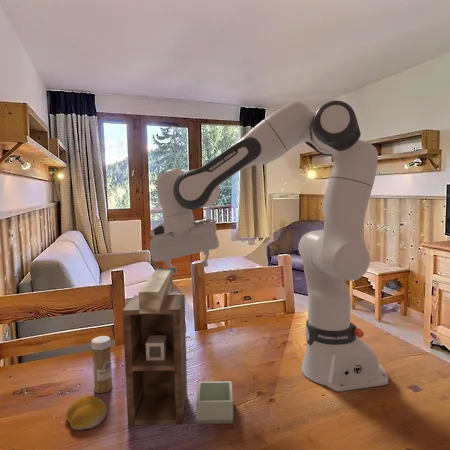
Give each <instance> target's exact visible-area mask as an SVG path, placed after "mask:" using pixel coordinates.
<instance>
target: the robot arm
mask: <svg viewBox="0 0 450 450" xmlns="http://www.w3.org/2000/svg"><path fill="white" fill-rule="evenodd" d="M361 136H362V135H361V131H360V126H359V122H358V119H357V115H356V112H355V111H354V109H353V107H352V106H351V105H349V104H348V103H346V102H345V101H342V100H332V101H328V102H326V103H324V104H322V105H321V106H320V107H319V108H317V110H316V112H313V111H311V109H310V108H309V107H308V105H306V104H305V103H302V102H301V101H292V102H289V103H288V104H286V105H284V106H282V107H280V108H278V109H277V110H275V111H274V112H272V113H271V114H269V115H268V116H266V117H265V118H264V119H262V120H261V121H260V122H259V123H257V124H256V125H255V126H254V127H253V128H251V130H250V131H248V132H247V133H246V134H245V135H244V136H242V138H240V139H239V140H238V141H237V142H236V143H234V144H233V145H232V146H230V147H229V148H227V149H226V150H224V151H223V152H222V153H220V154H219V155H217V156H216V157H214V158H213V159H211V161H209V162H208V163H206V164H205V165H203V166H200V167H199V168H194V169H191V170H187V171H184V170H183V169H181V168H173V169H172V168H171V169H168V170H166V171H164V172H161V174H159V175H158V177H157V179H156V189H157V196H158V200H159V205H160V207H161V208H162V219H163V222H162V223H160V224H158V225H157V226H155V227H154V228H152V229H150V231H149V233H150V236H151V237H152V238H151V239H150V242H149V245H150V246H149V248H150V250H149V251H150V255H151V260H152V261H153V262H155V263H158V262H163V261H164V262H165V265H166V266H167V268H172V275H174V274H178V270H177V269H178V268H177V266H174V265H172V264H171V262H172V259H176V258H179V257H185V256H189V255H194V254H198V253H203V254H204V256H205V258H204V260H201V263H202V268H206V267H209V263H208V259H209V255H210V251H212V250H216V249H218V248H219V246H220V241H219V238H218V235H217V233H216V232H217V228H218V227H217V223H216V221H215V220H214V219H210V218H205V219H201V220H200V219H199V220H196V221H195V217H194V213H193V210H197V209H201V208H202V209H203V208H208V207H211V206H213V205H215V203H217V202H218V200H219V198H220V195H221V186H220V185H221V184H222V183H224V182H226V181H228V179H230V178H231V177H233V176H234V175H236V174H238V173H239V172H240V171H242V170H244V169H247V168H249V167H254V166H261V165H268V164H269V163H272V162H274V161H275V160H278V159H279V158H281V157H282V156H284V155H285V154H286V153H287V152H289V151H291V150H292V149H294V148H295V147H296V146H298V145H299V144H302V143H305V144H306V145H307V146H308V147H310V148H312V149H313V150H314V151H315V152H316V153H318V154H319V155H322V156H326V157H329V156H330V157H332V159H333V160H332V161H333V163H332V164H333V165H332V169H331V173H330V175H329V179H328V182H327V187H326V189H325V193H324V197H323V200H322V204H321V210H322V213H323V220H324V221H323V222H324V223H323V229H318V230H311V231H308V232H306V233H305V234H303V235H302V236H301V237H300V240H299V241H298V247H297V248H298V253H299V255H300V257H301V261H302V265H303V271H304V276H305V282H306V289H307V319H306V322H305V324H306V326H305V341H306V346H305V352H304V357H303V359H302V364H301V367H300V369H301V370H300V371H301V373H302V374H303V376H305V377H306V379H308V380H309V381H310V380H311V381H312V382H314V383H316V384H319V385H322V386H325V387H328V388H329V389H331V390H333V391H335V392H347V391H352V390H359V389H366V388H372V387H380V386H386V385H388V384H389V376H388V374H387V371H386V370H385V369H384V367H383V366H382V365H381V364H380V363H379V359H378V356H377V355H376V353H375V351H374V350H373V349H372V348H371V346H370V345H368V344H367V343H365V342H364V341H363V340H361V339H362V338H363V337H364V335H365V333H364V331H363V330H362V329H361V328H359V327H357V325H356V324H354V323H352V322H351V304H352V302H351V301H352V297H351V295H350V292H349V290H348V287H347V285H346V281H347V282H348V281H349V282H351V281H357V280H359V279H361V278H362V277H363V276H364V275H365V274H366V273H367V271H368V270H369V267H370V263H371V262H370V261H371V258H370V252H369V251H368V249H367V247H366V243H365V217H366V212H367V209H368V204H369V201H370V198H371V194H372V189H373V186H374V183H375V179H376V173H377V170H378V169H377V168H378V160H379V158H378V157H379V153H378V149H377V148H376V147H375V146H374V145H373V144H372V143H370V142H368V141H365V140H361V139H360V138H361Z"/></svg>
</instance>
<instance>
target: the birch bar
mask: <svg viewBox="0 0 450 450" xmlns="http://www.w3.org/2000/svg"><path fill="white" fill-rule="evenodd" d="M173 285H174V284H173V274H172V268H169V267H167V268H156V269H155V270H154V272H153V273H152V274H151V276H150V277H149V278H148V279H147V280H146V282H145V283H144V285H143V286H142V287H141V288H140V290H139V291H138V295H139V314H143V313H159V312H160V310H161V308H162V306H163V304H164V302H165V300H166V298H167V296H168V295H170V294H169V293H170V292H171V289H172V287H173Z"/></svg>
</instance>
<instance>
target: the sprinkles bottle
mask: <svg viewBox="0 0 450 450" xmlns="http://www.w3.org/2000/svg"><path fill="white" fill-rule="evenodd" d="M90 343H91V350H92V369H93V371H92V372H93V380H94V382H93V383H94V385H93V386H94V388H93V389H94V392H95V393H98V394H105V393H107V392H109V391H110V390H112V389H113V381H112V380H113V379H112V377H113V376H112V375H113V374H112V373H113V372H112V359H111V344H112V343H111V338H110V337H109V336H107V335H99V336H97V337H93V339H91V342H90Z"/></svg>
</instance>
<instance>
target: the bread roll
mask: <svg viewBox="0 0 450 450" xmlns="http://www.w3.org/2000/svg"><path fill="white" fill-rule="evenodd" d="M107 406H108V405H107V404H106V403H105V402H103V400H102V399H101V398H100V397H99V396H96V395H90V394H89V395H88V394H87V395H84V396H82V397H79V398H78V399H76V400H74V402H72V403H71V404H70V405H69V407H68V408H67V409H66V416H65V417H66V420H67V421H68V423H69V424H70V427H71V428H72V429H73V430H78V431H79V430H88V429H93V428H95V427H97V426H98V425H99V424H101V423H102V422H103V421H104V419H105V418H106V416H107V413H108V407H107Z"/></svg>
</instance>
